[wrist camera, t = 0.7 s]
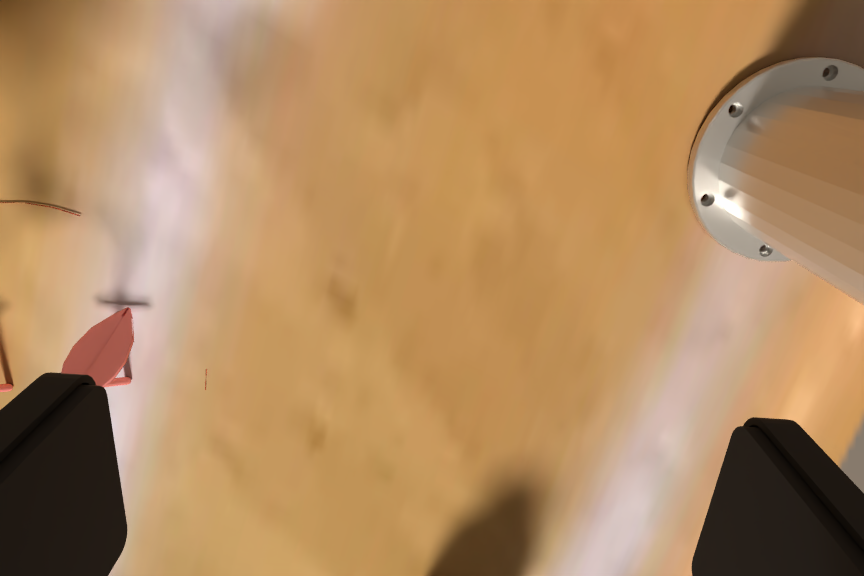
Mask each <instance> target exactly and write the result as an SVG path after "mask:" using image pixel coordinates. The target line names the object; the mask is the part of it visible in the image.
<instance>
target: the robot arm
mask: <svg viewBox="0 0 864 576" xmlns="http://www.w3.org/2000/svg"><path fill="white" fill-rule="evenodd" d="M824 69H825V73H824V75H823V71H824ZM731 105H732V106H733V110H732V111H731V112H730V113H728V110H729V107H730V106H731ZM688 193H689V198H690V203H691V206H692V209H693V211H694V213H695V215H696V218H697V220H698V221H699V223H700V224H701V226H702V227H703V228H704V230H705V231H706V232H707V234H709V235H710V236H711V237H712V238H713V239H714V240H716V241H717V242H718V243H719V244H720V245H722V246H724V247H725V248H727V249H728V250H730V251H731V252H733V253H735V254H738V255H740V256H743V257H745V258H748V259H752V260H757V261H763V262H785V261H791V260H792V261H794V262H795V263H797V264H799V265H800V266H802V267H803V268H805V269H807V270H808V271H810V272H811V273H813V274H814V275H816V276H818V277H819V278H821V279H822V280H824V281H826V282H827V283H829V284H830V285H832V286H834V287H835V288H837V289H838V290H840V291H841V292H843V293H845V294H846V295H848V296H849V297H851V298H853V299H854V300H856V301H857V302H859V303H861V304H862V305H864V69H863V68H862V67H860V66H859V65H856V64H853V63H850V62H847V61H843V60H840V59H832V58H823V57H809V58H797V59H792V60H787V61H782V62H779V63H776V64H774V65H771V66H769V67H766V68H764V69H761V70H759V71H758V72H756V73H754V74H753V75H751V76H749V77H748V78H746V79H744V80H743V81H741V82H740V83H739V84H738V85H736V86H735V87H734V88H733V89H732V90H731V91H729V92H728V93H727V94H726V95H725V96H724V97H723V98H722V99H721V100H720V102H719V103H718V104H717V105H716V106H715V107H714V109H713V110H712V111H711V112H710V114H709V115H708V117H707V119H706V120H705V122H704V124H703V125H702V127H701V129H700V130H699V132H698V135H697V137H696V140H695V142H694V145H693V147H692V150H691V155H690V160H689V165H688ZM704 194H706V197H705V198H704V199H703V200H701V198H702V196H703V195H704ZM761 246H762V248H761ZM126 538H127V522H126V516H125V509H124V503H123V496H122V490H121V483H120V476H119V470H118V463H117V457H116V450H115V444H114V437H113V431H112V424H111V417H110V411H109V404H108V398H107V393H106V390H105V389H104V387H102V386H97V385H96V383H95V381H94V379H93V378H92V377H91V376H89V375H82V374H66V373H45V374H43V375H41V376H40V377H38V378H37V379H36V380H35V381H34V382H33V383H32V384H30V385H29V386H28V387H27V388H26V389H25V390H23V391H22V392H21V393H20V394H19V395H18V396H16V397H15V398H14V399H13V400H12V401H11V402H9V403H8V404H7V405H6V406H5V407H4V408H2V409H1V410H0V576H108V575H109V573H110V571H111V570H112V568H113V566H114V565H115V563H116V561H117V560H118V558H119V556H120V555H121V553H122V551H123V548H124V545H125V542H126ZM692 576H864V493H863V492H862V491H861V490H860V489H859V488H858V487H857V486H856V485H855V484H854V483H853V482H852V481H851V480H850V479H849V478H848V476H846V474H845V473H844V472H843V471H842V470H841V469H840V468H839V467H838V466H837V465H836V464H835V463H834V462H833V461H832V459H831V458H830V457H829V456H828V455H827V454H826V453H825V452H824V451H823V450H822V449H821V448H820V447H819V446H818V445H817V444H816V443H815V441H814V440H813V439H812V438H811V437H810V436H809V435H808V434H807V433H806V432H805V431H804V430H803V429H802V428H801V427H800V426H799V425H798V424H797V423H796V422H794V421H792V420H785V419H770V418H754V417H753V418H750V419H748V420H747V421H746V422H745V424H744V426H740V427H737V428H736V429H735V430H734V431H733V433H732V436H731V439H730V442H729V445H728V448H727V452H726V455H725V458H724V461H723V464H722V468H721V471H720V474H719V477H718V480H717V483H716V487H715V490H714V493H713V496H712V499H711V503H710V506H709V509H708V512H707V515H706V518H705V522H704V525H703V528H702V531H701V534H700V537H699V541H698V544H697V547H696V550H695V553H694V557H693V561H692Z"/></svg>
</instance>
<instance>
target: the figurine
mask: <svg viewBox="0 0 864 576" xmlns="http://www.w3.org/2000/svg"><path fill="white" fill-rule="evenodd" d="M0 203H13V202H0ZM27 204H31V203H27ZM33 205H38V204H33ZM39 206H44V205H39ZM45 207H50V206H45ZM52 208H55V207H52ZM55 209H58V208H55ZM58 210H61V209H58ZM62 211H65V210H62ZM65 212H68V211H65ZM68 213H71V212H68ZM71 214H74V213H71ZM75 215H78V214H75ZM78 216H80V215H78ZM131 318H132V314H131V309H130V308H128V307H127V308H125V309H123V310H121V311H119V312H117V313H115V314H113V315H111V316H110V317H108V318H106V319H105V320H103V321H102V322H100V323H98V324H97V325H95V326H93V327H92V328H91V329H90V330H89V331H88V332H87V333H86V334H85V335H84V336H83V337H82V338H81V339H80V340H79V341H78V342H77V343H76V344H75V345H74V346H73V348H72V349H71V351H70V353H69V355H68V356H67V358H66V360H65V362H64V364H63V368H62V372H61V373H66V374H82V375H89V376H91V377H92V378H93V379H94V381H95V383H96V385H97V386H102V387H109V386H118V385H127V384H130V382H131V379H130V378H129V377H122V378H115V377H116V376H117V374H118V373H119V372H120V370H121V369H122V367H123V366H124V365H125V363H126V362H127V359H128V356H129V353H130V351H131V348H132V345H133V342H134V332H133V336H132V321H131ZM132 319H133V318H132ZM206 374H207V369H206ZM12 388H13V386H12V385H11V384H0V392H5V391H11V390H12ZM205 390H206V383H205Z"/></svg>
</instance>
